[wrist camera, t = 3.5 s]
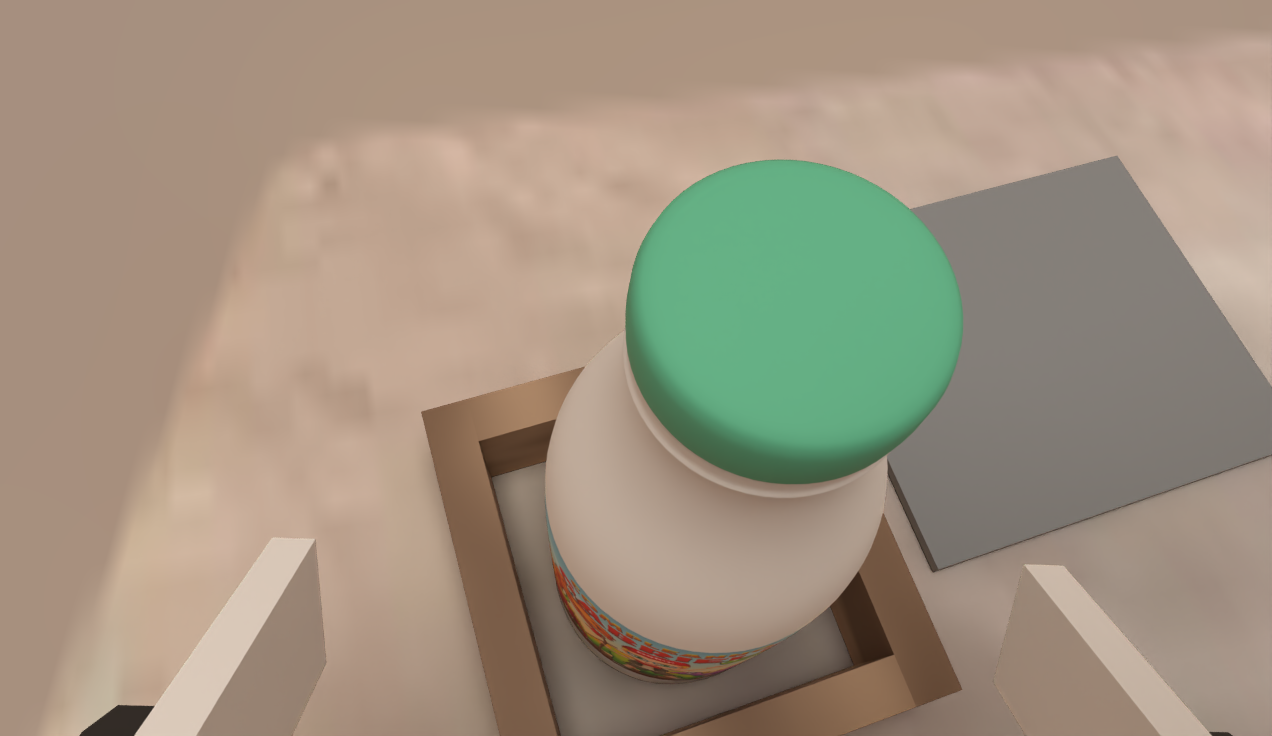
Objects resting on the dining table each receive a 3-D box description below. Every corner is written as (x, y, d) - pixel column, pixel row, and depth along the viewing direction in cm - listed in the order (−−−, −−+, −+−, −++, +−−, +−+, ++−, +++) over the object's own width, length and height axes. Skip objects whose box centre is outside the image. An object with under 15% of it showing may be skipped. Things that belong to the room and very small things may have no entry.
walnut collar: (769, 357, 33) (792, 309, 29) (913, 696, 28) (962, 689, 24) (440, 450, 31) (421, 411, 27) (536, 837, 26) (528, 852, 22)
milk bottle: (562, 458, 31) (531, 47, 12) (771, 466, 31) (1038, 77, 13) (549, 683, 28) (480, 574, 9) (781, 689, 28) (1154, 594, 10)
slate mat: (1110, 162, 38) (1117, 155, 37) (1297, 445, 33) (1308, 441, 32) (784, 247, 35) (787, 241, 35) (932, 572, 30) (938, 569, 29)
